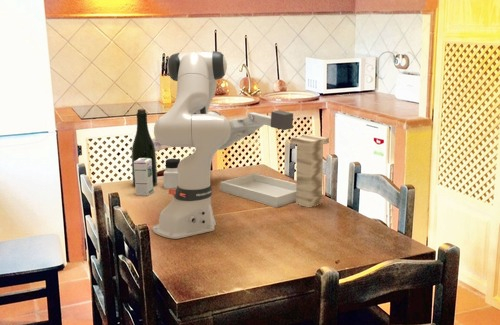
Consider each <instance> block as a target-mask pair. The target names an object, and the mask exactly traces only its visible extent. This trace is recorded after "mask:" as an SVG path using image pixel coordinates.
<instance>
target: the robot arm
mask: <svg viewBox="0 0 500 325" xmlns="http://www.w3.org/2000/svg"><path fill="white" fill-rule="evenodd" d="M166 67H167V69H166V70H167V73H168V75H169V78H170V79H171V80H173V82H177V84H176V87H177V88H176V96H175V100H174V103H173V104H172V106H171V108H170V109H169V110H168V111H166V113H164V114H162V115H161V116H159V117H158V118H157V119H156V121H155V124H154V126H153V134H154V135H153V136H154V138H155V139H156V141H157V143H158V144H160V145H162V146H166V147H172V148H174V147H175V148H179V147H180V148H187V147H189V148H191V147H192V148H195V150H194V152H193V153H192V154H189V155H188V156H185V157H184V158H182V159H181V160H180V162H179V164H178V186H177V189H168V195H172V196H173V197H174V198H173V199H172V200H171V201H170V202H169V203H168V204H167V205H166V206H165V207H164V208H163V209H162V210H161V212H160V213H159V218H158V224H156V225H153V226H152V229H151V230H152V232H153V233H154V234H156V235H158V236H161V237H164V238H167V239H173V240H174V239H176V240H177V239H182V238H186V237H191V236H196V235H200V234H204V233H209V232H213V231H215V228H216V226H217V225H216V224H217V222H216V220H215V215H214V212H213V207H212V206H213V204H212V195H213V189H212V184H211V168H212V161H213V159H214V157H215V155H216V153H217V151H220V150H221V151H222V150H225V149H228V148H229V147H231V146H232V145H234V144H235V143H236V142H239V141H240V140H242V139H244V138H246V137H247V136H251V135H253V134H255V133H256V131H257V130H259V129H260V128H262V127H263V126H266V125H265V124H261V123H257V122H253V120H254V119H255V118H254V116H253V115H252V116H249V117H248V116H247V117H242V118H237V117H236V118H233V119H231V120H228V118H226V116H224V115H222V114H221V113H219V112H218V111H214V110H209V108H210V106H211V103H212V101H213V99H214V98H215V95H216V92H217V86H218V80H220V79H223V78H224V76H225V75H226V72H227V69H228V63H227V60H226V57H225V56H224V54H223V53H222V52H220V51H217V50H215V51H214V50H212V51H196V50H195V51H188V52H182V53H179V52H177V53H173V54H172V55H170V56H169V58H168V60H167V66H166Z"/></svg>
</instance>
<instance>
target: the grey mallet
mask: <svg viewBox="0 0 500 325" xmlns="http://www.w3.org/2000/svg"><path fill="white" fill-rule="evenodd" d="M270 113H271V114H270V115H266V114H262V113H258V112H254V111H253V112H247V117H249V116H252V115H253V116H254V118H255V119H254V120H253V122H257V123H261V124H265V125H264V126H269V127H270V128H274V129H278V130H282V131H287V130H292V129H293V124H294V113H293V112H289V111H284V110H274V111H271V112H270Z"/></svg>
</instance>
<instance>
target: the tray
mask: <svg viewBox="0 0 500 325" xmlns="http://www.w3.org/2000/svg"><path fill="white" fill-rule="evenodd" d="M219 183H220V184H219V188H220V190H219V192H223V193H225V194H228V195H229V194H230V195H233V196H236V197H238V198H242V199H245V200H249V201H252V202H253V201H254V202H256V203H260V204H263V205H267V206H270V207H273V208H279V207H283V206H286V205H288V204H292V203H296V183H295V182H291V181H287V180H284V179H279V178H276V177H271V176H268V175H264V174H259V173H256V172H254V173H253V172H252V173H249V174H245V175H242V176H239V177H238V176H237V177H235V178H229V179H227V180H222V181H220V182H219Z"/></svg>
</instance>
